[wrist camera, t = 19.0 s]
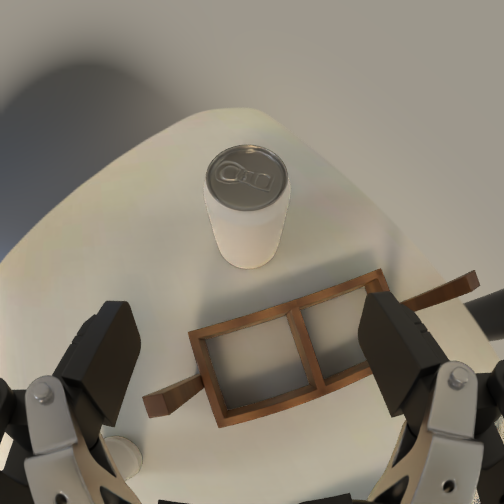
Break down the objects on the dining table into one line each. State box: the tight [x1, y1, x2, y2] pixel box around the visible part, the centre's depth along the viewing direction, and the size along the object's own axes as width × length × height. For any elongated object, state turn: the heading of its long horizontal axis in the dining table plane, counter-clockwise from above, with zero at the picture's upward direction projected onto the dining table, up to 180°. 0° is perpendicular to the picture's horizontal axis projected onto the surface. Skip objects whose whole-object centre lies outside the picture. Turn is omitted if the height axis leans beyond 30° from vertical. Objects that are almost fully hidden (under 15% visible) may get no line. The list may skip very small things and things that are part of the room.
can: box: [203, 145, 291, 269], centre depth 24 cm, size 6×6×12 cm
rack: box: [142, 268, 480, 428], centre depth 19 cm, size 22×9×14 cm, turn 107°
